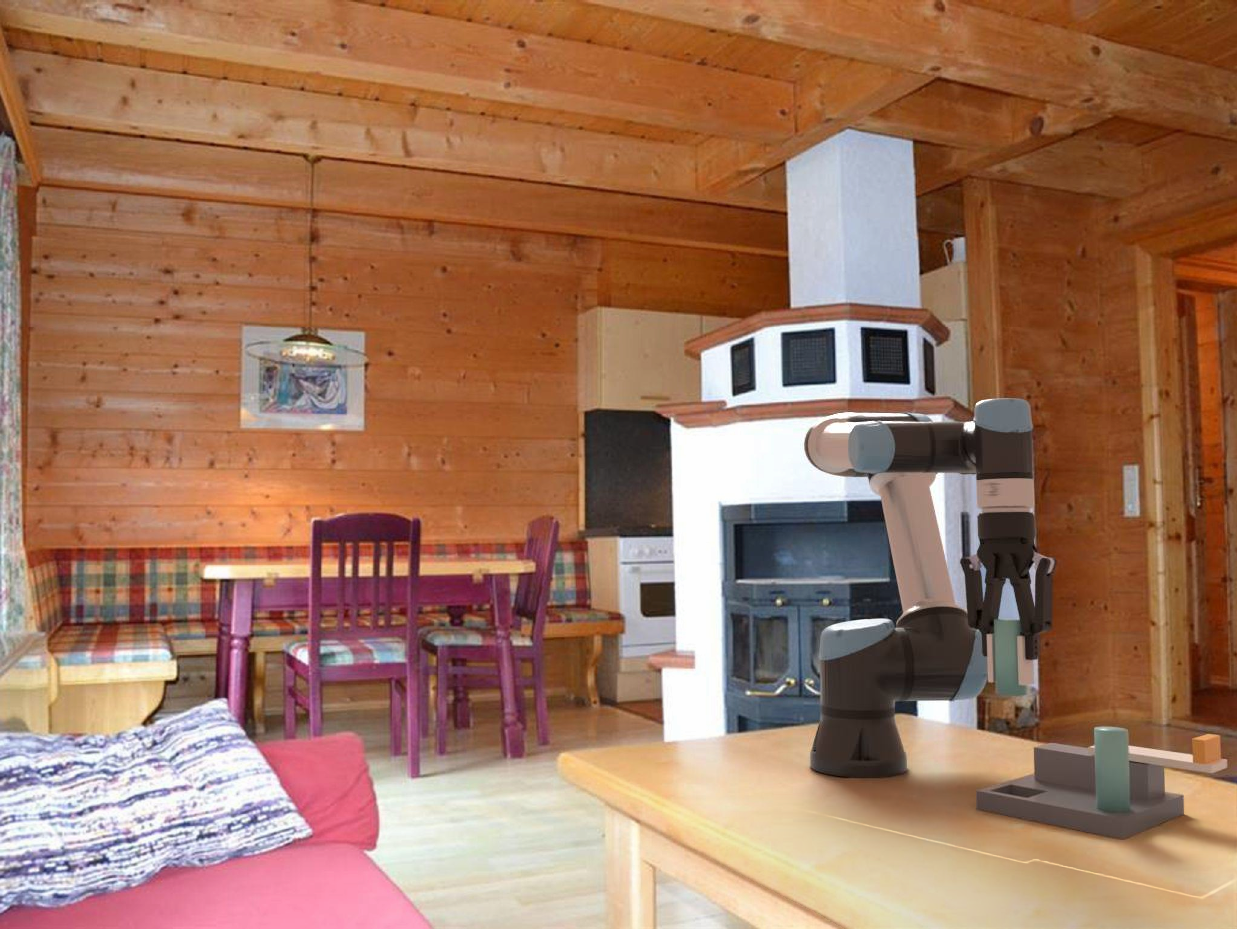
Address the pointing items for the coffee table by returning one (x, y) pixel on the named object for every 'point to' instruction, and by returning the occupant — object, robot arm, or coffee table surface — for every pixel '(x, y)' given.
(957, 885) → the coffee table surface
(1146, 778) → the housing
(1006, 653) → the peg
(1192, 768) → the lid
